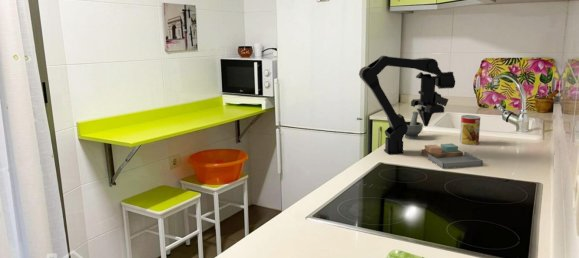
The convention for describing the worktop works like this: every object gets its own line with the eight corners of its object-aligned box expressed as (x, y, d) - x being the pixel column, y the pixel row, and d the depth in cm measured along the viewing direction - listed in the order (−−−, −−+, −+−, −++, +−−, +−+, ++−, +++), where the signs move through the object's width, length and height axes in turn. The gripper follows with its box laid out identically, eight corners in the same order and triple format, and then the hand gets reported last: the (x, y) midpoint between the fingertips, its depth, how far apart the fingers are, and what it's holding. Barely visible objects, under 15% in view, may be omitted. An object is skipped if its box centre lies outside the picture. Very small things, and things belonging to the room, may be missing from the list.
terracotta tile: (430, 153, 180) (430, 148, 180) (424, 150, 185) (424, 145, 185) (441, 152, 181) (442, 147, 181) (435, 149, 186) (436, 144, 185)
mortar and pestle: (417, 141, 207) (418, 115, 204) (398, 138, 212) (398, 113, 209) (425, 136, 216) (426, 111, 213) (406, 133, 221) (406, 109, 218)
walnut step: (429, 159, 179) (430, 154, 178) (421, 153, 186) (421, 149, 186) (462, 156, 181) (462, 152, 180) (452, 151, 188) (452, 147, 188)
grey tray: (442, 168, 167) (442, 163, 166) (427, 159, 178) (428, 154, 178) (482, 165, 169) (482, 160, 169) (465, 156, 181) (465, 151, 180)
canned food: (480, 145, 197) (482, 118, 194) (461, 144, 198) (462, 118, 196) (476, 140, 204) (478, 115, 202) (458, 140, 206) (459, 114, 203)
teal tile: (446, 152, 181) (446, 147, 181) (440, 148, 186) (440, 144, 186) (457, 151, 182) (458, 146, 182) (451, 148, 187) (452, 143, 187)
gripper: (457, 91, 177) (455, 129, 180) (435, 85, 195) (433, 120, 198) (431, 92, 175) (429, 131, 178) (411, 86, 193) (409, 122, 196)
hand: (426, 126), depth 188 cm, fingers closed
